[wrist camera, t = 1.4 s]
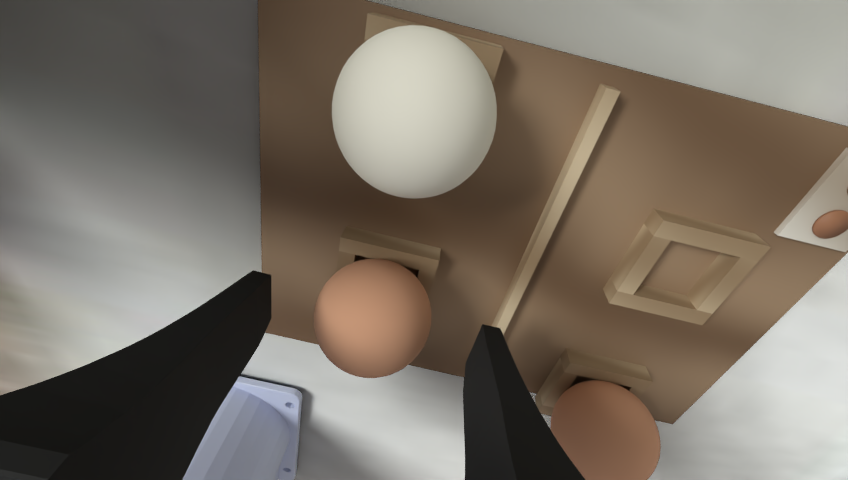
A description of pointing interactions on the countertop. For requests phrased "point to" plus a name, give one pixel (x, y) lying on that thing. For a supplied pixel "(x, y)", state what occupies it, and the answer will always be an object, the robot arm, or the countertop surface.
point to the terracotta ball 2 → (606, 432)
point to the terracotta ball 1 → (372, 318)
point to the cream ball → (414, 111)
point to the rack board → (557, 211)
